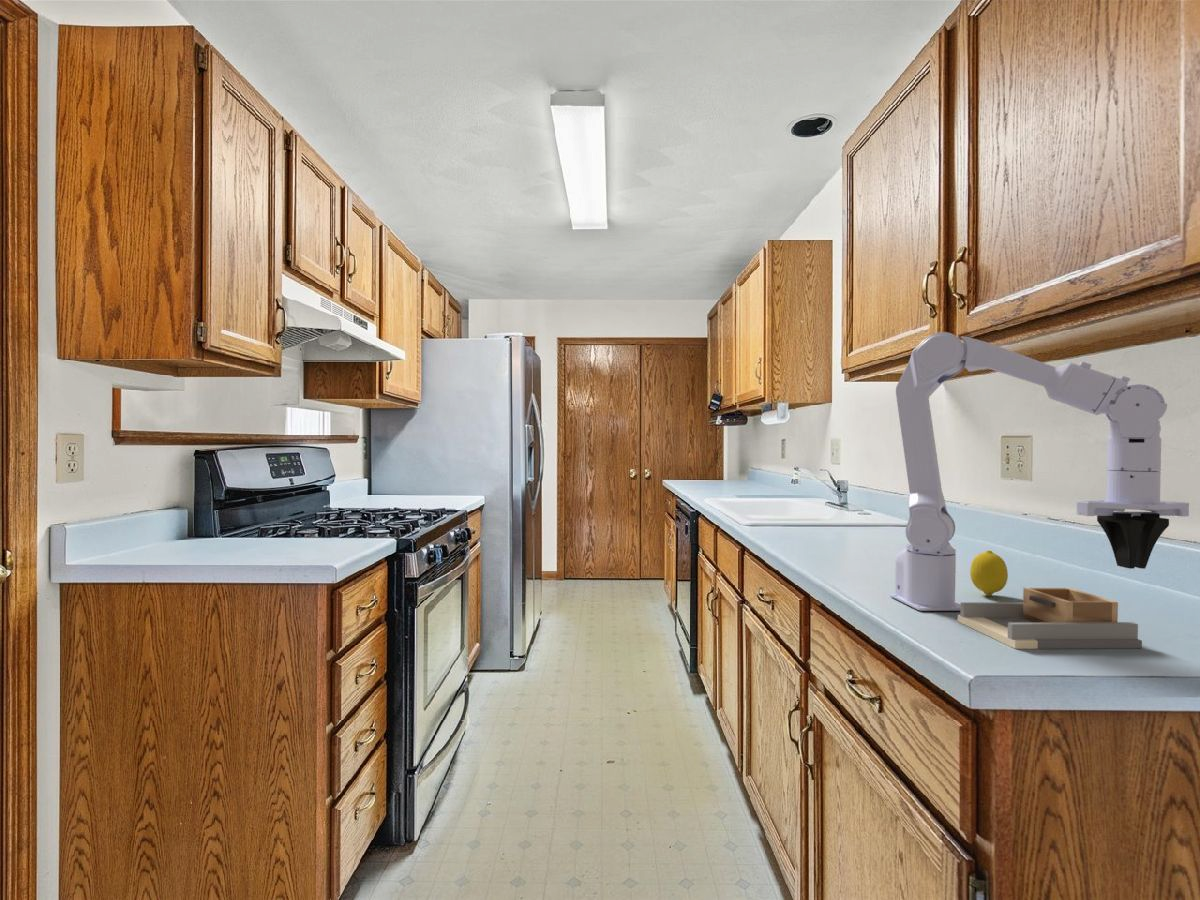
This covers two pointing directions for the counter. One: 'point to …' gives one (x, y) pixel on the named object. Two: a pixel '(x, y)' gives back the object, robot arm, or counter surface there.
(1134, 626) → the bay
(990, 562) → the lemon
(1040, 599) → the crate
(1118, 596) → the counter surface
